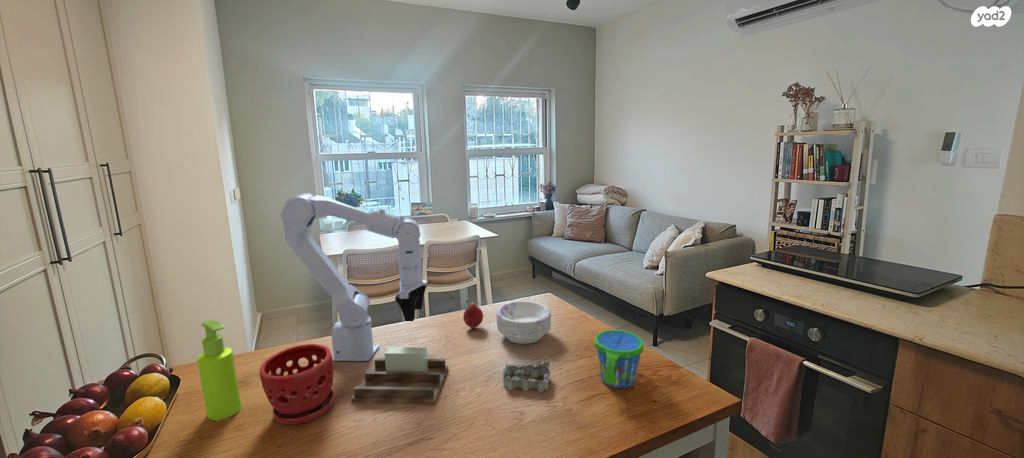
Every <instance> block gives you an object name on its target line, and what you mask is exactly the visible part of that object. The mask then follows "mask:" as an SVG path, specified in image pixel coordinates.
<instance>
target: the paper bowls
mask: <svg viewBox="0 0 1024 458" xmlns="http://www.w3.org/2000/svg"><path fill="white" fill-rule="evenodd" d="M551 324H552V312H551V309H550V308H549V307H548V306H546V305H544V304H543V303H540V302H536V301H530V300H515V301H511V302H507V303H504V304H502V305H500V306H498V308H497V310H496V328H497V331H498V332H499V333H501V335H503V336H505V338H506V340H508V341H509V342H512V343H515V344H518V345H519V344H520V345H528V344H533V343H536V342H538V341H539V340H541V338H542V337H543V336H544V335H546V334H547V333H549V331H550V330H551V326H552V325H551Z"/></svg>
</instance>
